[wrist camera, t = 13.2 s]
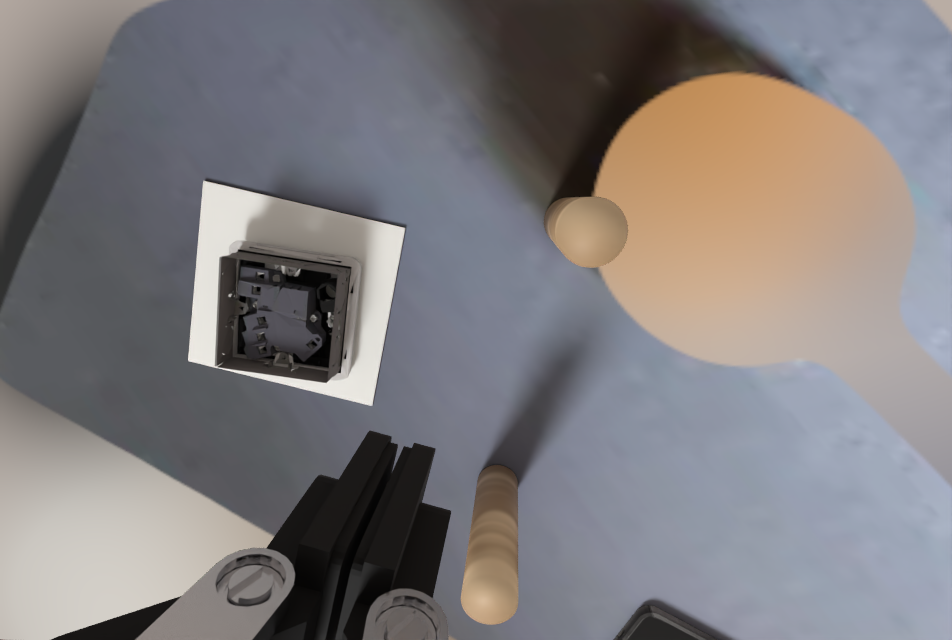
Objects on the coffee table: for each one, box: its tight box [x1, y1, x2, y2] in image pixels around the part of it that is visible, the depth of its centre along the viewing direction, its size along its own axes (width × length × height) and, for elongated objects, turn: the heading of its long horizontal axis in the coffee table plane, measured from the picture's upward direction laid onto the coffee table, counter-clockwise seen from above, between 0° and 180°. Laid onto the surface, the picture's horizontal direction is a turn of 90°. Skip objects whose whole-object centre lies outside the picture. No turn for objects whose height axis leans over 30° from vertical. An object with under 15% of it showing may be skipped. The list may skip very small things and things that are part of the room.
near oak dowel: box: [544, 197, 628, 267], centre depth 28 cm, size 3×3×12 cm
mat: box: [188, 181, 406, 406], centre depth 37 cm, size 14×15×1 cm
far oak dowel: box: [461, 465, 518, 625], centre depth 33 cm, size 3×3×12 cm
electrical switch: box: [215, 240, 362, 383], centre depth 35 cm, size 9×5×9 cm
